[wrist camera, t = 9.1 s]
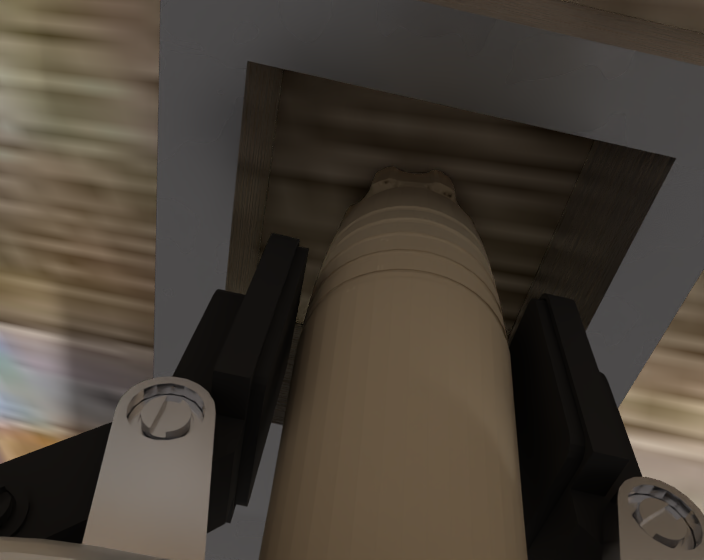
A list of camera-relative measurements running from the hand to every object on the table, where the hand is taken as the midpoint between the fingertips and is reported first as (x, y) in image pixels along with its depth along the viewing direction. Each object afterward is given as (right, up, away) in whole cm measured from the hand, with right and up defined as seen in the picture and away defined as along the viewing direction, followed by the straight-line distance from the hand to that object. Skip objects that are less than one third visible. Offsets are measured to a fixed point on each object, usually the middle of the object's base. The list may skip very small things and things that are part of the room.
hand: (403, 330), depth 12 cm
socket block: (0, 0, +6) cm, 6 cm away
